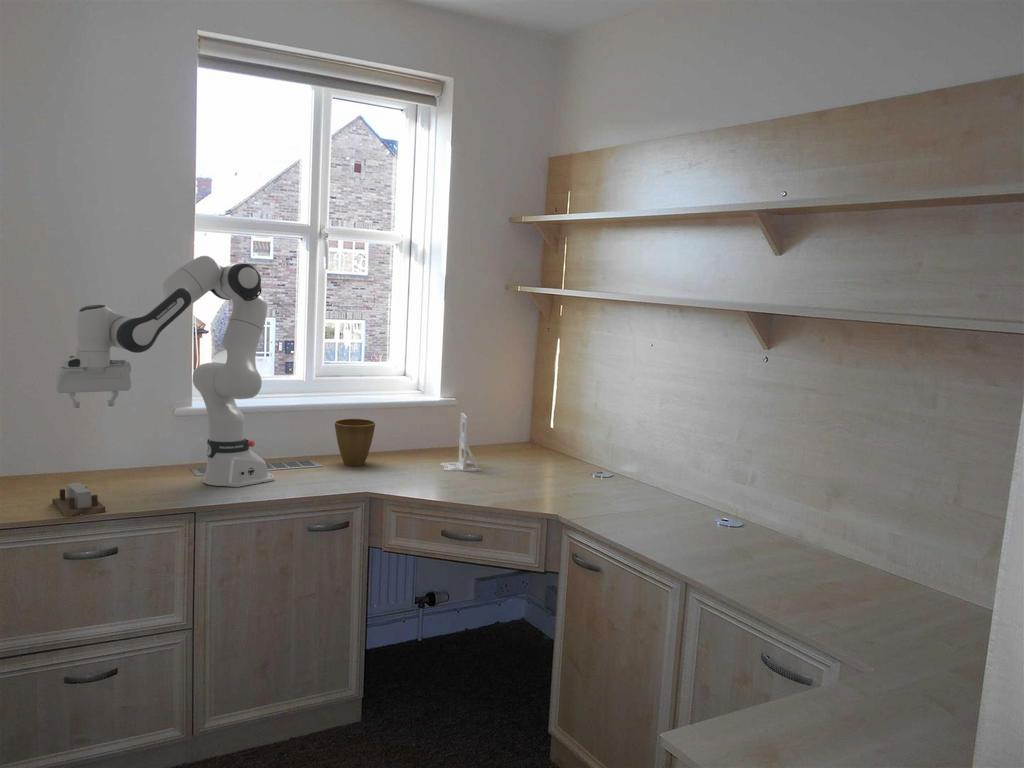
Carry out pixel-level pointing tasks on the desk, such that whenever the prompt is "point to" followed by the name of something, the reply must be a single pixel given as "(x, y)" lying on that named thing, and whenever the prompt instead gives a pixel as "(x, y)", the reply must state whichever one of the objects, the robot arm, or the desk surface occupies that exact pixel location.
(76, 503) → the grey rectangular block
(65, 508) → the footed brown board
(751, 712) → the desk surface
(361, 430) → the plant pot
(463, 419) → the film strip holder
